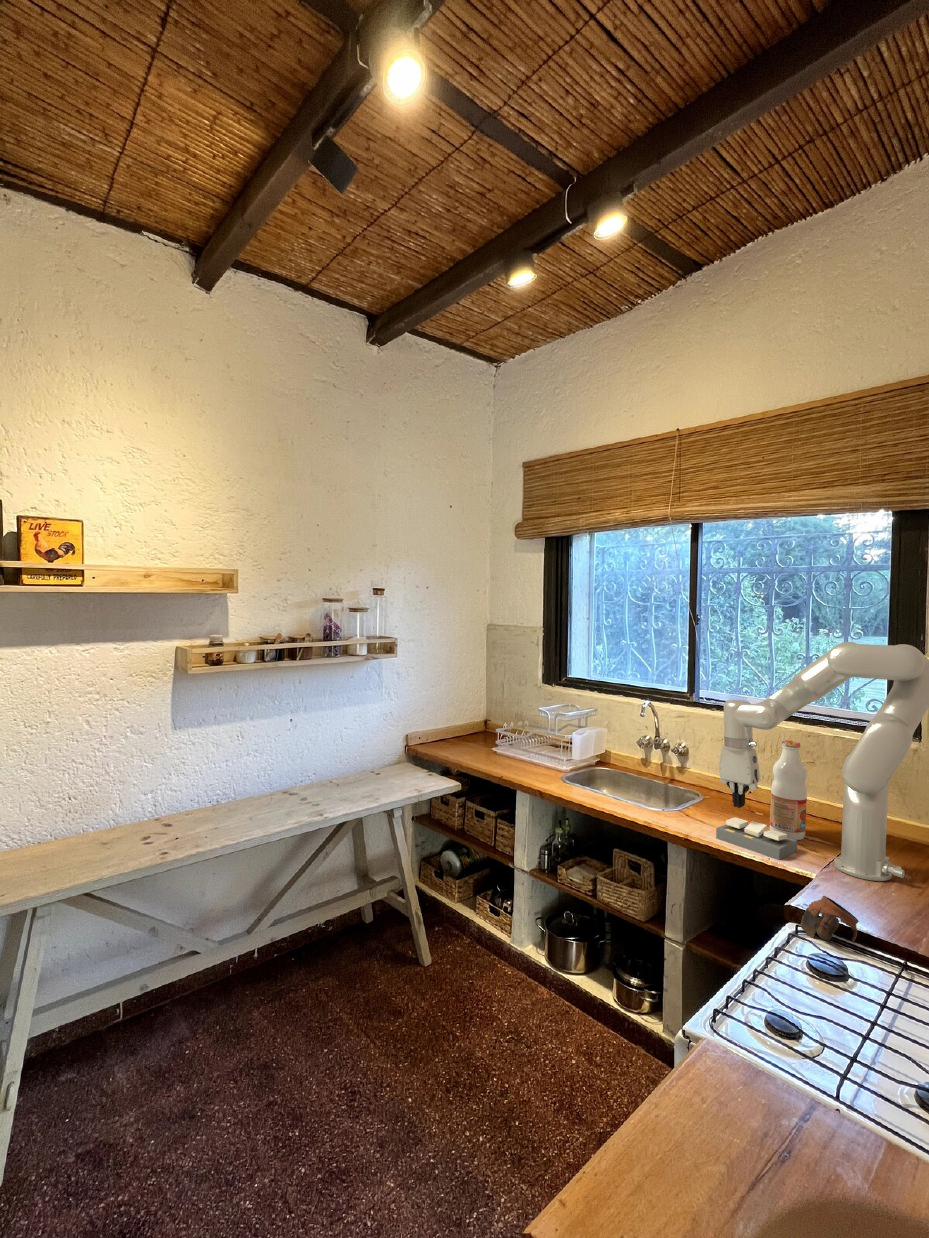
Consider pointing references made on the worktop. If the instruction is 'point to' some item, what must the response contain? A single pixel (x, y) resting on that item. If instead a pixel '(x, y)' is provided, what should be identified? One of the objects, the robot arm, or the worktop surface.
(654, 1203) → the worktop surface
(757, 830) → the rocker
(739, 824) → the rocker
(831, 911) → the pottery mug
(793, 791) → the fruit juice
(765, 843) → the switch panel
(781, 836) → the block
